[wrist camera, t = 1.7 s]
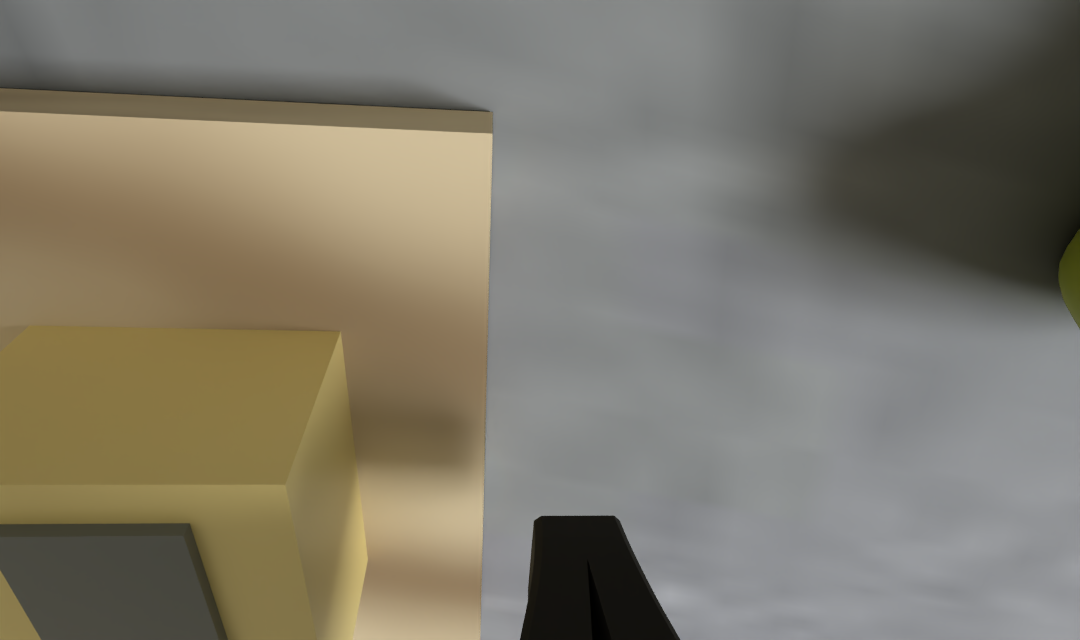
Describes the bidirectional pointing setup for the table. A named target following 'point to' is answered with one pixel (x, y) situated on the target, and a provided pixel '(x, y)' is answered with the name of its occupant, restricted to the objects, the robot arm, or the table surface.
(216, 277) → the subfloor panel
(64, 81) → the table surface
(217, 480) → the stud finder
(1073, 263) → the dumbbell
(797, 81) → the table surface
